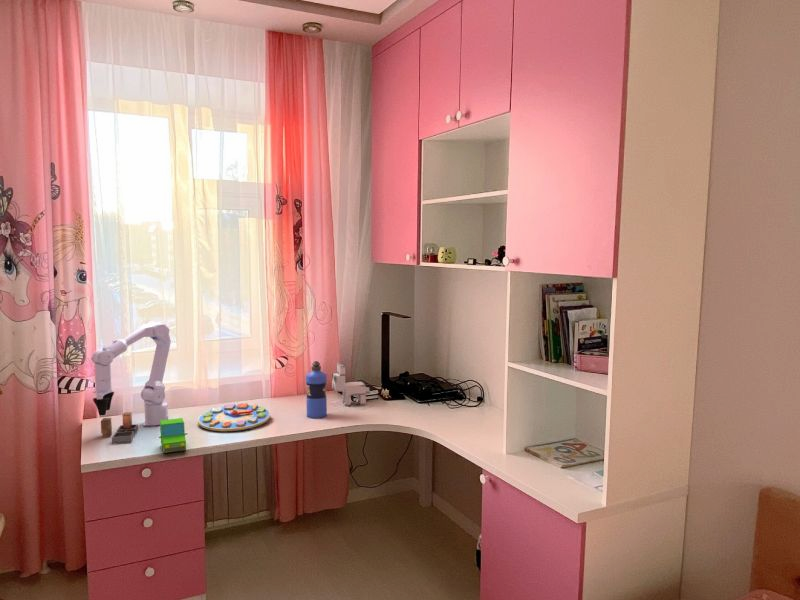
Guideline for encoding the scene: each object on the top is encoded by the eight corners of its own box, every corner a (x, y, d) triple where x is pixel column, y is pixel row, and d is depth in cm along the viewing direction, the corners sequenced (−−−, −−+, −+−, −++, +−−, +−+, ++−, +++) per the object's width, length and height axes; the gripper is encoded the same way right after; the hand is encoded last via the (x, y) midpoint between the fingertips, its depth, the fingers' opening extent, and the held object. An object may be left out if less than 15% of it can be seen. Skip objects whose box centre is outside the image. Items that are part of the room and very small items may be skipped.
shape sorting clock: (186, 433, 252) (186, 418, 251) (212, 413, 282) (212, 400, 282) (259, 434, 250) (259, 419, 250) (277, 413, 281) (277, 401, 280)
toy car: (160, 456, 223) (159, 430, 222) (158, 446, 235) (157, 420, 234) (189, 452, 227) (188, 426, 226) (185, 442, 239) (185, 417, 238)
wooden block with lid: (111, 434, 249) (111, 417, 248) (110, 436, 246) (109, 419, 245) (102, 435, 248) (102, 418, 247) (101, 437, 245) (100, 420, 244)
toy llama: (370, 404, 296) (370, 364, 294) (335, 407, 291) (334, 366, 289) (367, 400, 303) (367, 361, 301) (332, 403, 298) (332, 363, 296)
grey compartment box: (138, 429, 255) (137, 410, 254) (131, 442, 239) (130, 421, 238) (120, 431, 253) (119, 411, 253) (111, 443, 237) (111, 423, 236)
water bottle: (325, 412, 282) (324, 359, 280) (328, 417, 273) (327, 362, 271) (305, 413, 279) (304, 360, 277) (307, 419, 270) (306, 364, 268)
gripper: (96, 376, 252) (98, 408, 253) (87, 384, 238) (89, 418, 239) (115, 375, 253) (116, 407, 255) (107, 383, 239) (108, 416, 241)
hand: (104, 412), depth 247 cm, fingers open, 7 cm apart
